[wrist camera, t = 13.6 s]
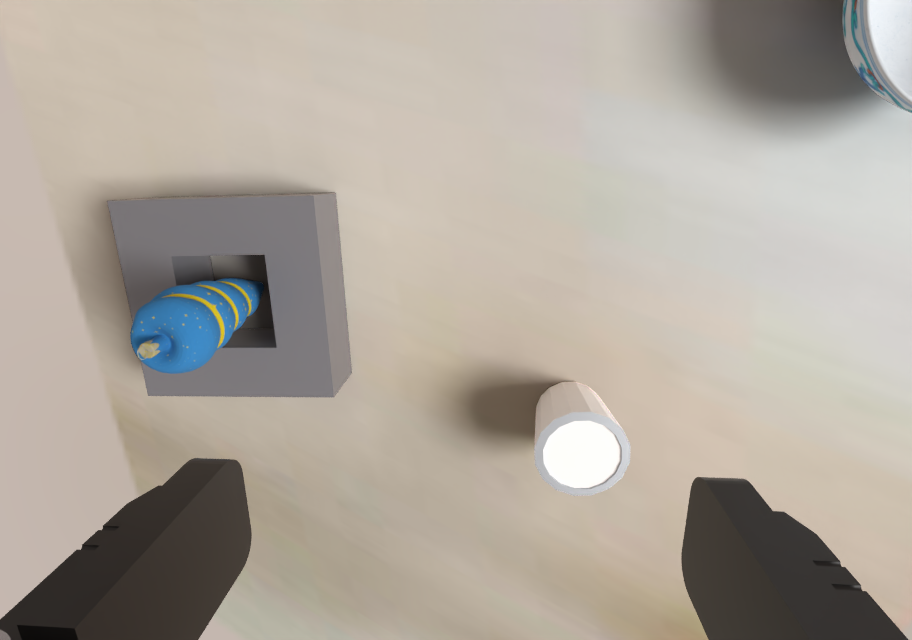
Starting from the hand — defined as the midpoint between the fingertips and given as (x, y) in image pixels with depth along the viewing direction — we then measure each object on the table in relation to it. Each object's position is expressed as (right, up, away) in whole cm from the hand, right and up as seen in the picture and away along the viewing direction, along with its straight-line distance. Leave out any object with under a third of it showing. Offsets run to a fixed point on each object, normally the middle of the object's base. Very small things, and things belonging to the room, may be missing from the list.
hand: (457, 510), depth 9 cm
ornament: (-16, +6, +33) cm, 37 cm away
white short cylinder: (+10, -4, +34) cm, 36 cm away
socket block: (-17, +6, +33) cm, 38 cm away
